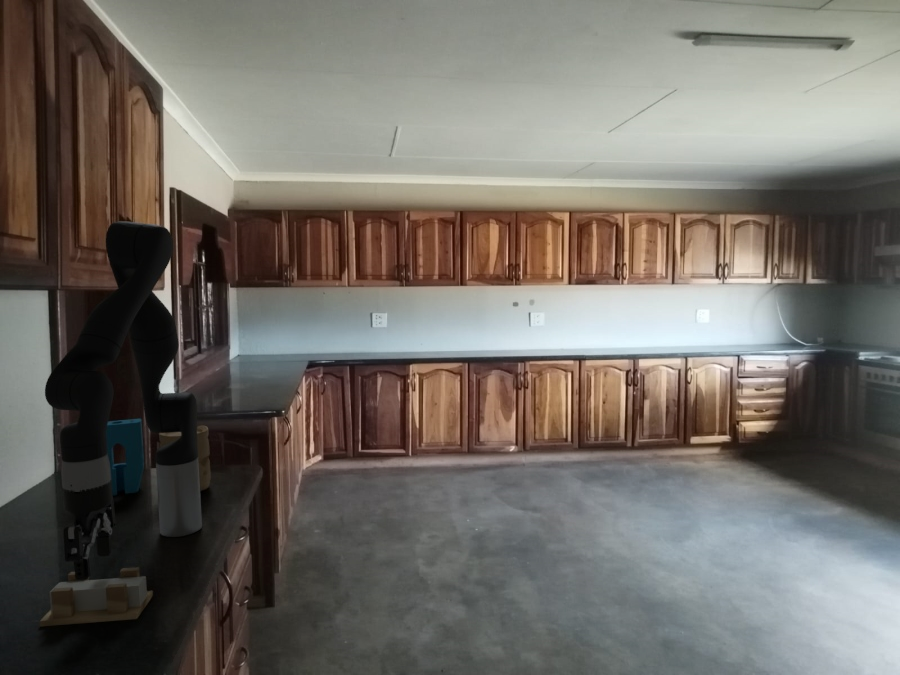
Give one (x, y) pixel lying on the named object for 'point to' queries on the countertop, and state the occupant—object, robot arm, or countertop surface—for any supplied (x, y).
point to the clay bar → (103, 592)
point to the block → (132, 440)
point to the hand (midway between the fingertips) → (94, 566)
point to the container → (202, 452)
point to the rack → (114, 611)
